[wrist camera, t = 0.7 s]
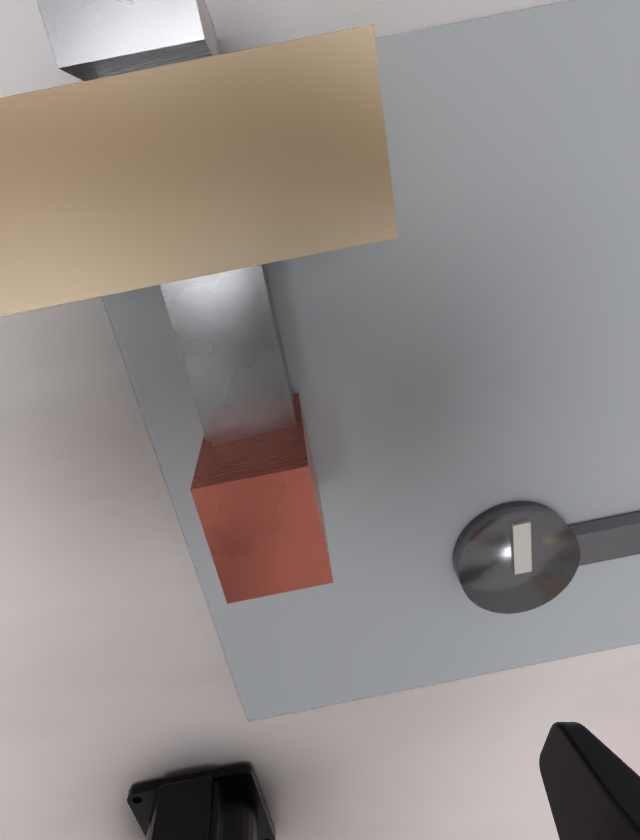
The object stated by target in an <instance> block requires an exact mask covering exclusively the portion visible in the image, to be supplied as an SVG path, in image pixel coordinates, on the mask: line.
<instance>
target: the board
mask: <svg viewBox="0 0 640 840" xmlns="http://www.w3.org/2000/svg"><path fill="white" fill-rule="evenodd" d="M375 43H376V52H377V60H378V69H379V78H380V86H381V95H382V103H383V112H384V121H385V129H386V138H387V147H388V155H389V164H390V173H391V181H392V190H393V199H394V207H395V216H396V224H397V233H398V238H393V239H388V240H383V241H378V242H373V243H368V244H363V245H358V246H353V247H347V248H342V249H337V250H332V251H327V252H322V253H317V254H312V255H307V256H302V257H297V258H292V259H287V260H282V261H277V262H272V263H267V264H265V265H266V270H267V275H268V279H269V284H270V289H271V293H272V298H273V303H274V307H275V312H276V317H277V321H278V326H279V330H280V335H281V340H282V344H283V349H284V354H285V358H286V363H287V368H288V372H289V377H290V382H291V386H292V391H293V394H296V393H299V397H300V401H301V406H302V411H303V415H304V420H305V425H306V430H307V434H308V439H309V444H310V449H311V453H312V458H313V463H314V468H315V472H316V477H317V482H318V487H319V492H320V499H321V505H322V512H323V518H324V524H325V531H326V537H327V544H328V550H329V556H330V563H331V569H332V576H333V582H334V583H329V584H324V585H319V586H314V587H309V588H304V589H299V590H294V591H289V592H284V593H279V594H274V595H269V596H264V597H259V598H254V599H249V600H244V601H239V602H234V603H229V604H227V602H226V599H225V596H224V592H223V589H222V586H221V583H220V580H219V577H218V574H217V571H216V568H215V565H214V562H213V559H212V555H211V552H210V549H209V546H208V543H207V540H206V537H205V534H204V531H203V528H202V525H201V522H200V518H199V515H198V512H197V509H196V506H195V503H194V500H193V497H192V494H191V491H190V488H191V484H192V480H193V476H194V472H195V468H196V464H197V460H198V456H199V452H200V448H201V444H202V440H203V436H204V431H203V428H202V424H201V421H200V418H199V414H198V411H197V408H196V404H195V401H194V398H193V394H192V391H191V387H190V384H189V381H188V377H187V374H186V371H185V367H184V364H183V361H182V357H181V354H180V350H179V347H178V344H177V340H176V337H175V334H174V330H173V327H172V324H171V320H170V317H169V313H168V310H167V307H166V303H165V300H164V297H163V293H162V290H161V287H160V285H156V286H151V287H146V288H141V289H136V290H131V291H126V292H121V293H116V294H110V295H105V296H102V299H103V302H104V305H105V308H106V311H107V314H108V317H109V320H110V323H111V325H112V328H113V331H114V334H115V337H116V340H117V343H118V346H119V349H120V352H121V355H122V357H123V360H124V363H125V366H126V369H127V372H128V375H129V378H130V381H131V384H132V387H133V389H134V392H135V395H136V398H137V401H138V404H139V407H140V410H141V413H142V416H143V419H144V421H145V424H146V427H147V430H148V433H149V436H150V439H151V442H152V445H153V448H154V451H155V453H156V456H157V459H158V462H159V465H160V468H161V471H162V474H163V477H164V480H165V483H166V485H167V488H168V491H169V494H170V497H171V500H172V503H173V506H174V509H175V512H176V515H177V517H178V520H179V523H180V526H181V529H182V532H183V535H184V538H185V541H186V544H187V546H188V549H189V552H190V555H191V558H192V561H193V564H194V567H195V570H196V573H197V576H198V578H199V581H200V584H201V587H202V590H203V593H204V596H205V599H206V602H207V605H208V608H209V610H210V613H211V616H212V619H213V622H214V625H215V628H216V631H217V634H218V637H219V640H220V642H221V645H222V648H223V651H224V654H225V657H226V660H227V663H228V666H229V669H230V672H231V674H232V677H233V680H234V683H235V686H236V689H237V692H238V695H239V698H240V701H241V704H242V706H243V709H244V712H245V715H246V718H247V721H248V722H250V721H255V720H260V719H265V718H270V717H275V716H280V715H285V714H289V713H294V712H299V711H304V710H309V709H314V708H319V707H324V706H329V705H334V704H339V703H344V702H349V701H354V700H359V699H364V698H369V697H374V696H379V695H384V694H389V693H394V692H399V691H404V690H409V689H414V688H419V687H424V686H429V685H434V684H439V683H444V682H449V681H454V680H459V679H464V678H469V677H474V676H479V675H484V674H489V673H494V672H499V671H504V670H509V669H514V668H519V667H524V666H529V665H534V664H539V663H544V662H549V661H554V660H559V659H564V658H569V657H574V656H579V655H584V654H589V653H594V652H599V651H604V650H609V649H614V648H619V647H624V646H629V645H634V644H639V643H640V554H638V555H633V556H628V557H623V558H618V559H613V560H608V561H603V562H598V563H593V564H588V565H583V566H578V568H577V571H576V573H575V575H574V577H573V579H572V580H571V582H570V583H569V584H568V586H567V587H566V588H565V589H564V590H563V591H562V592H561V593H560V594H559V595H558V596H556V597H555V598H554V599H552V600H551V601H549V602H547V603H546V604H544V605H542V606H540V607H537V608H535V609H532V610H529V611H525V612H521V613H513V614H502V613H495V612H491V611H487V610H485V609H483V608H480V607H479V606H477V605H476V604H474V603H473V602H472V601H471V600H470V599H469V598H468V597H467V595H466V594H465V592H464V590H463V588H462V586H461V584H460V582H459V580H458V578H457V575H456V573H455V570H454V566H453V551H454V547H455V544H456V541H457V539H458V537H459V535H460V534H461V532H462V531H463V529H464V528H465V527H466V526H467V525H468V524H469V523H470V522H471V521H472V520H473V519H474V518H475V517H477V516H478V515H479V514H481V513H482V512H484V511H485V510H487V509H489V508H491V507H494V506H496V505H499V504H502V503H506V502H512V501H533V502H537V503H541V504H543V505H546V506H548V507H550V508H551V509H553V510H554V511H555V512H557V514H558V515H559V516H560V517H561V518H562V519H563V520H564V521H565V523H566V524H567V525H568V526H570V525H575V524H580V523H585V522H590V521H595V520H600V519H605V518H610V517H615V516H620V515H625V514H630V513H635V512H640V0H569V1H564V2H559V3H554V4H549V5H544V6H539V7H534V8H529V9H524V10H519V11H514V12H508V13H503V14H498V15H493V16H488V17H483V18H478V19H473V20H468V21H463V22H458V23H453V24H448V25H443V26H438V27H433V28H427V29H422V30H417V31H412V32H407V33H402V34H397V35H392V36H387V37H382V38H377V39H375Z"/></svg>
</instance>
